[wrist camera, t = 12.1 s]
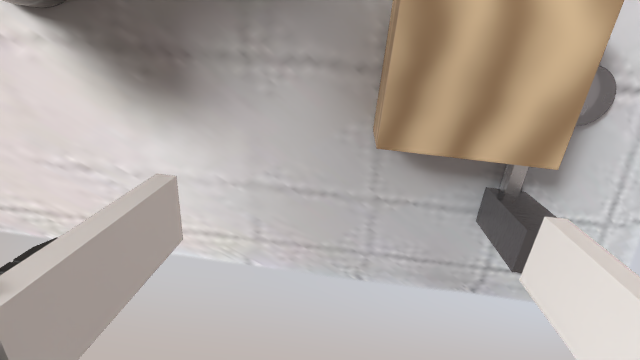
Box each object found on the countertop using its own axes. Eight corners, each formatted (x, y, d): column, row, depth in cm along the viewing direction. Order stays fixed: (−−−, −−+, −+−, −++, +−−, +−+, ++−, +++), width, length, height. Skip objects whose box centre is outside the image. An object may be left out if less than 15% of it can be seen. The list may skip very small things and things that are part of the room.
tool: (475, 220, 40) (512, 271, 30) (530, 39, 32) (600, 34, 23) (513, 225, 39) (561, 278, 30) (577, 44, 32) (668, 39, 22)
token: (533, 119, 35) (540, 121, 34) (555, 60, 33) (563, 61, 31) (590, 127, 35) (599, 130, 33) (616, 68, 32) (627, 69, 31)
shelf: (372, 129, 37) (376, 148, 30) (394, -10, 32) (405, -30, 24) (516, 146, 36) (558, 169, 28) (563, 4, 31) (628, -12, 23)
